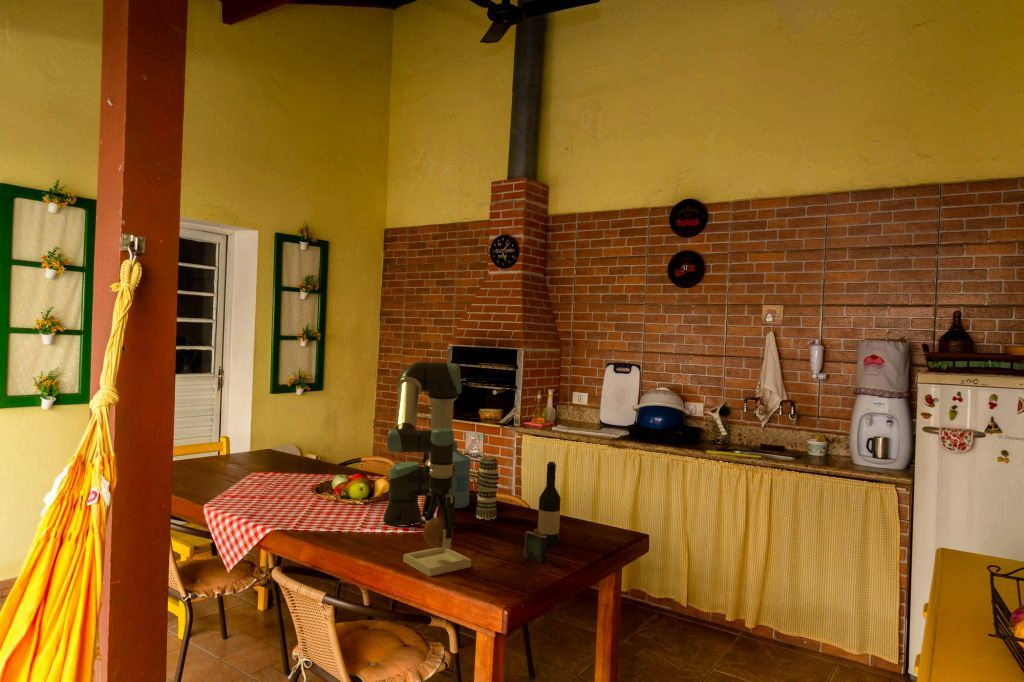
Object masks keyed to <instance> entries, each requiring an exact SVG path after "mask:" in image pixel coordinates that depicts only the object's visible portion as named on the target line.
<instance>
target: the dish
mask: <svg viewBox="0 0 1024 682" xmlns="http://www.w3.org/2000/svg"><path fill="white" fill-rule="evenodd" d="M402 558H403V559H402V560H403V561H402V562H403V563H405V564H406V563H407V564H406V565H408V564H409V566H410V567H412V568H414V569H416V570H417V571H419V572H421V573H422V574H424V575H427V576H428V577H432V576H433V577H434V576H437V575H441V574H446V572H447V573H450V572H455V571H459V569H460V570H463V569H467V568H472V559H471V558H469V557H467V556H465V555H463V554H460V553H459V552H457V551H455V550H452V549H451V548H446V549H443V547H442V548H433V547H431V548H429V549H428V548H427V549H423V550H418V551H413V552H409V553H404V554H403V557H402Z"/></svg>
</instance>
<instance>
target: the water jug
mask: <svg viewBox="0 0 1024 682" xmlns="http://www.w3.org/2000/svg"><path fill="white" fill-rule="evenodd" d="M458 443H459V441H457V440H456V441H455V440H454V448H453V462H454V467H457V480H456V485H455V490H454V493H453V494H452V495H451V496H454V497H455V503H454V504H455V508H459V509H464V508H466V507H468V505H470V486H471V478H470V477H471V467H472V466H471V465H472V464H471V458H470V456H467V455H466V454H464V453H462V452H460V451H458ZM445 505H446V504H445ZM438 506H439V505H438ZM463 507H464V508H463Z"/></svg>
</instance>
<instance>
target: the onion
mask: <svg viewBox="0 0 1024 682" xmlns="http://www.w3.org/2000/svg"><path fill="white" fill-rule="evenodd" d="M444 527H445V524H444V520H443V516H436V517H434V518H433V519H431V520H429V521H428V522H427V523H426V522H425V525H424V528H423V532H422V534H423V535H422V536H423V539H424V541H425V543H426V544H427V545H428V546H429V547H430V548H442V547H443V528H444ZM453 535H454V529H453V528H452V538H451V540H452V539H453Z"/></svg>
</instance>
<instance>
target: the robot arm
mask: <svg viewBox="0 0 1024 682" xmlns="http://www.w3.org/2000/svg"><path fill="white" fill-rule="evenodd" d="M460 368H461V367H460V366H459V365H458V363H453V362H438V361H437V362H435V361H433V362H432V361H430V362H429V361H418V362H415V363H413V364H412V363H411V364H410V365H409V366H407V367H406V368H405V369H404V370H402V372H401V373H400V375H399V376H398V378H397V379H396V380H397V381H396V385H395V387H396V392H397V402H396V403H397V404H396V410H395V411H396V413H395V420H394V421H395V422H394V429H388V432H387V441H386V443H387V445H386V446H387V451H388V452H396V453H424V454H425V453H428V454H429V455H428V456H429V457H428V459H426V460H425V463H424V466H421V464H420V462H419V461H404V462H398V463H396V464H394V465H392V466H391V467H390V469H389V476H388V479H389V485H388V486H389V487H388V502H387V506H386V508H385V510H384V513H383V516H382V517H383V519H382V522H383V521H384V522H385V523H387V524H390V525H389V526H391V525H411V524H415V523H419V522H420V521H421V522H422V519H423V518H424V521H425V524H426V523H427V522H428V521H429V520H431V519H433V518H435V517H434V516H435V514H436V511H437V508H439V509H440V512H441V515H442V516H441V517H443V520H444V524H445V527H444V528H443V549H446V548H448V549H451V548H452V539H453V536H452V528H454V529H455V528H457V527H458V526H457V525H458V524H457V515H456V509H455V504H454V503H455V497H454V496H451V495H452V494H453V493H454V490H455V485H456V480H457V467H454V462H453V448H454V441H455V431H454V430H453V419H454V402H455V401H456V400H457V399H458V396H459V394H462V392H463V391H462V380H461V369H460ZM422 392H423V393H427V397H428V398H429V399H430V400H431V407H430V408H431V410H430V430H420V429H417V423H418V407H419V395H420V394H421V393H422ZM419 497H424V502H423V506H422V512H421V508H420V505H419ZM445 504H446V505H445ZM438 505H439V507H437V506H438ZM422 517H423V518H422ZM384 522H383V523H384ZM385 523H384V524H385ZM387 524H386V525H387ZM451 538H452V539H451Z"/></svg>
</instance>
